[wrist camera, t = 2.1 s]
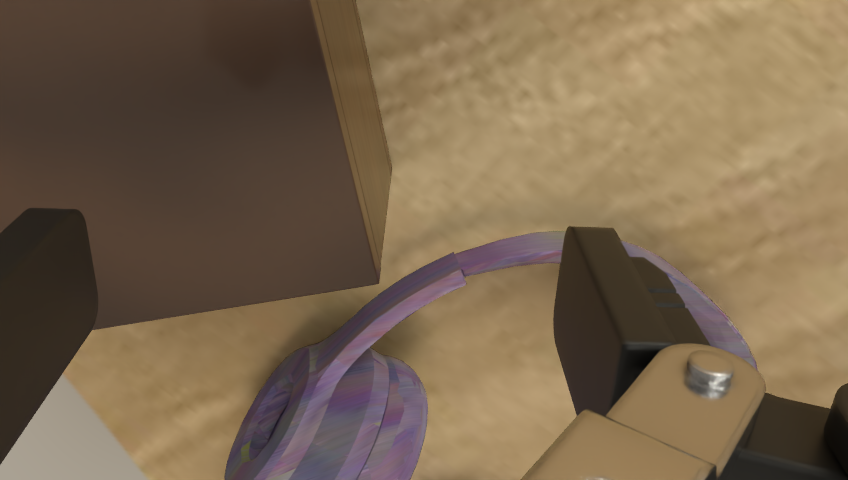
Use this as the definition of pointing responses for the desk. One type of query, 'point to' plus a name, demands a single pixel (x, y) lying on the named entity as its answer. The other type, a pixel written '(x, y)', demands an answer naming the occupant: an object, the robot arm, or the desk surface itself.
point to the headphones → (393, 376)
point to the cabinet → (197, 146)
